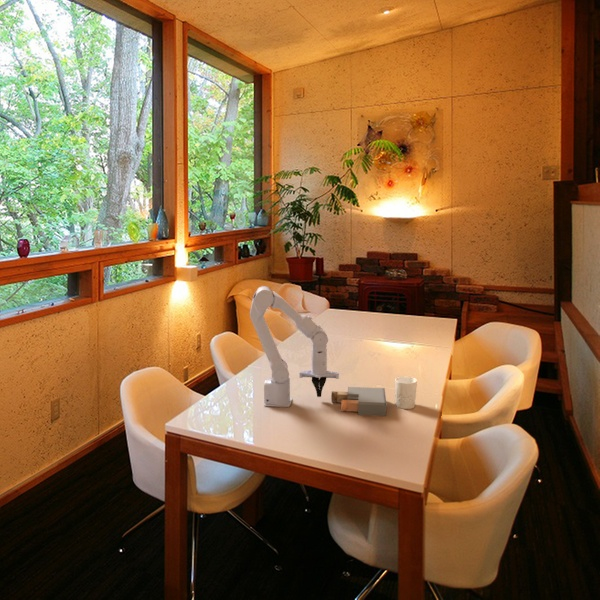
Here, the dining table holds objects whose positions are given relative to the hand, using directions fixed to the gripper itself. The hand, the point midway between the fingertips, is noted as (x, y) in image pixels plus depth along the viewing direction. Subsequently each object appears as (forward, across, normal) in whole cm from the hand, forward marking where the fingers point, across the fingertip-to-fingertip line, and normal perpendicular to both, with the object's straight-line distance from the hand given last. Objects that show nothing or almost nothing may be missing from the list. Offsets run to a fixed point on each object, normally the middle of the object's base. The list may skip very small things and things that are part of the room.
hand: (319, 395), depth 194 cm
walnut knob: (+2, +10, 0) cm, 10 cm away
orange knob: (+2, +14, -8) cm, 16 cm away
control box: (+2, +18, -4) cm, 18 cm away
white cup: (+2, +32, -1) cm, 32 cm away
